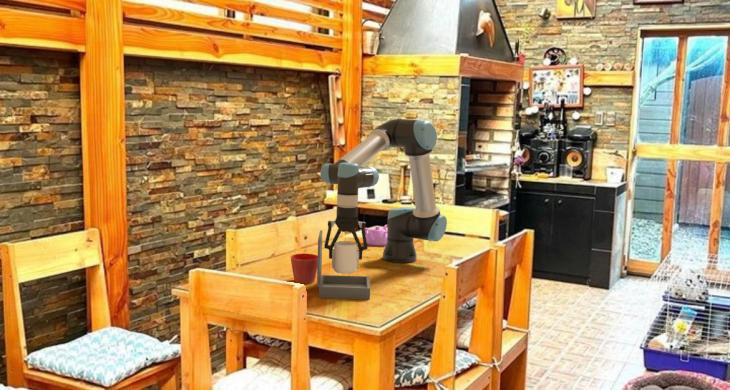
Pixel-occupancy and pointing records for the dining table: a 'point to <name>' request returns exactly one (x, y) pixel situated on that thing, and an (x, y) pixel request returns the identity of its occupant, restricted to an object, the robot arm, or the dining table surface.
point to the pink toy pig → (376, 236)
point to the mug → (345, 257)
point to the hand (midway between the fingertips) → (345, 267)
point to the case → (340, 282)
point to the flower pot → (304, 267)
